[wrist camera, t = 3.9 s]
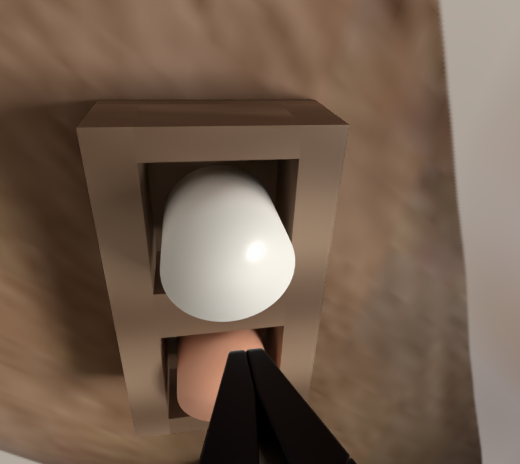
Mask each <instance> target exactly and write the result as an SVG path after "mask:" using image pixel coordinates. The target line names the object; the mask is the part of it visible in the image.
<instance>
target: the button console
mask: <svg viewBox="0 0 520 464" xmlns="http://www.w3.org/2000/svg"><path fill="white" fill-rule="evenodd" d="M348 130H349V124H347V123H346V122H345V121H343V120H342V119H341V118H339V117H338V116H337V115H335V114H334V113H332V112H331V111H330V110H328V109H327V108H326V107H324V106H323V105H321V104H320V103H319V102H317V101H316V100H97V101H96V103H95V104H94V105H93V107H92V108H91V109H90V110H89V112H88V113H87V114H86V115H85V117H84V118H83V119H82V121H81V122H80V123H79V124H78V126H77V127H76V131H77V136H78V141H79V146H80V151H81V156H82V162H83V167H84V172H85V177H86V182H87V187H88V192H89V197H90V203H91V208H92V213H93V218H94V223H95V228H96V233H97V238H98V244H99V249H100V254H101V259H102V264H103V269H104V274H105V280H106V285H107V290H108V295H109V300H110V305H111V310H112V315H113V321H114V326H115V331H116V336H117V341H118V346H119V351H120V356H121V362H122V367H123V372H124V377H125V382H126V387H127V392H128V397H129V403H130V408H131V413H132V418H133V423H134V428H135V433H136V439H137V438H144V437H151V436H159V435H166V434H173V433H180V432H187V431H194V430H201V429H208V426H209V423H210V422H208V421H203V420H199V419H196V418H193V417H192V416H190V415H188V414H187V413H185V412H184V411H183V410H182V408H181V407H180V405H179V403H178V400H177V336H186V335H196V334H206V333H216V332H226V331H236V330H246V329H256V328H259V330H260V334H261V338H262V342H263V346H264V350H265V352H266V353H267V354H268V355H269V357H270V358H271V359H272V360H273V362H274V363H275V364H276V365H277V367H278V368H279V369H280V370H281V371H282V373H283V374H284V375H285V376H286V378H287V379H288V380H289V381H290V383H291V384H292V385H293V386H294V387H295V389H296V390H297V391H298V392H299V394H300V395H301V396H302V397H303V399H304V400H305V401H306V402H308V395H309V389H310V382H311V376H312V369H313V362H314V356H315V349H316V342H317V336H318V329H319V322H320V316H321V309H322V302H323V296H324V289H325V283H326V276H327V269H328V263H329V256H330V249H331V243H332V236H333V229H334V223H335V216H336V210H337V203H338V196H339V190H340V183H341V176H342V170H343V163H344V156H345V150H346V143H347V136H348ZM212 165H228V166H233V167H237V168H240V169H243V170H245V171H247V172H249V173H250V174H252V175H253V176H255V177H256V178H257V179H258V180H259V181H260V182H261V183H262V184H263V186H264V187H265V189H266V190H267V192H268V194H269V196H270V199H271V201H272V203H273V205H274V207H275V209H276V211H277V214H278V216H279V218H280V220H281V222H282V224H283V226H284V228H285V231H286V233H287V235H288V237H289V239H290V241H291V243H292V246H293V249H294V254H295V269H294V274H293V277H292V280H291V282H290V284H289V286H288V287H287V289H286V290H285V292H284V293H283V294H282V296H281V297H280V298H279V299H278V300H277V301H276V302H275V303H274V304H272V305H271V306H270V307H268V308H267V309H265V310H263V311H262V312H260V313H258V314H256V315H254V316H251V317H248V318H245V319H241V320H236V321H229V322H215V321H207V320H203V319H199V318H196V317H194V316H191V315H189V314H187V313H185V312H184V311H182V310H181V309H180V308H178V307H177V306H176V305H175V304H174V303H173V302H172V301H171V300H170V299H169V297H168V296H167V294H166V292H165V291H164V288H163V286H162V283H161V278H160V260H161V244H162V228H163V213H164V206H165V202H166V199H167V197H168V195H169V193H170V191H171V190H172V188H173V187H174V186H175V185H176V183H177V182H178V181H179V180H181V179H182V178H183V177H184V176H186V175H187V174H189V173H191V172H193V171H195V170H197V169H200V168H203V167H207V166H212Z"/></svg>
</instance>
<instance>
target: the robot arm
mask: <svg viewBox="0 0 520 464" xmlns="http://www.w3.org/2000/svg"><path fill="white" fill-rule="evenodd" d="M349 458H350V455H349V454H348V453H347V451H346V450H345V449H344V448H343V447H342V445H341V444H340V443H339V442H338V440H337V439H336V438H335V437H334V435H333V434H332V433H331V432H330V431H329V429H328V428H327V427H326V426H325V424H324V423H323V422H322V421H321V419H320V418H319V417H318V416H317V415H316V413H315V412H314V411H313V410H312V408H311V407H310V406H309V405H308V403H307V402H306V401H305V400H304V399H303V397H302V396H301V395H300V394H299V392H298V391H297V390H296V389H295V387H294V386H293V385H292V384H291V383H290V381H289V380H288V379H287V378H286V376H285V375H284V374H283V373H282V371H281V370H280V369H279V368H278V367H277V365H276V364H275V363H274V362H273V360H272V359H271V358H270V357H269V355H268V354H267V353H266V352H265V351H264V350H263V349H262V348H254V349H248V350H247V351H245V350H236V351H230V352H229V354H228V357H227V361H226V364H225V368H224V372H223V375H222V379H221V383H220V386H219V390H218V394H217V397H216V401H215V405H214V408H213V412H212V415H211V419H210V423H209V426H208V430H207V434H206V437H205V441H204V445H203V448H202V452H201V455H200V459H199V463H198V464H356V462H355V461H354V460H353V459H352V458H350V459H349Z"/></svg>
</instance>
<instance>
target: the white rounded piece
mask: <svg viewBox="0 0 520 464" xmlns="http://www.w3.org/2000/svg"><path fill="white" fill-rule="evenodd" d="M294 269H295V254H294V249H293V246H292V243H291V241H290V239H289V237H288V235H287V233H286V231H285V228H284V226H283V224H282V222H281V220H280V218H279V216H278V214H277V211H276V209H275V207H274V205H273V203H272V201H271V199H270V196H269V194H268V192H267V190H266V189H265V187H264V186H263V184H262V183H261V182H260V181H259V180H258V179H257V178H256V177H255V176H253V175H252V174H250V173H249V172H247V171H245V170H243V169H240V168H237V167H233V166H228V165H212V166H207V167H203V168H200V169H197V170H195V171H193V172H191V173H189V174H187V175H186V176H184V177H183V178H182V179H181V180H179V181H178V182H177V183H176V185H175V186H174V187H173V188H172V190H171V191H170V193H169V195H168V197H167V199H166V202H165V206H164V213H163V228H162V244H161V260H160V278H161V283H162V286H163V288H164V291H165V292H166V294H167V296H168V297H169V299H170V300H171V301H172V302H173V303H174V304H175V305H176V306H177V307H178V308H180V309H181V310H182V311H184V312H185V313H187V314H189V315H191V316H194V317H196V318H199V319H203V320H207V321H215V322H229V321H236V320H241V319H245V318H248V317H251V316H254V315H256V314H258V313H260V312H262V311H263V310H265V309H267V308H268V307H270V306H271V305H272V304H274V303H275V302H276V301H277V300H278V299H279V298H280V297H281V296H282V294H283V293H284V292H285V290H286V289H287V287H288V286H289V284H290V282H291V280H292V277H293V274H294Z"/></svg>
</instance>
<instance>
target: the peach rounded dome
mask: <svg viewBox="0 0 520 464" xmlns="http://www.w3.org/2000/svg"><path fill="white" fill-rule="evenodd" d="M254 348H262V349H263V350H264V346H263V342H262V338H261V334H260V330H259V328H256V329H246V330H236V331H226V332H216V333H206V334H196V335H186V336H177V400H178V403H179V405H180V407H181V408H182V410H183V411H184V412H185V413H187V414H188V415H190V416H192V417H193V418H196V419H199V420H203V421H208V422H210V419H211V415H212V412H213V408H214V405H215V401H216V397H217V394H218V390H219V386H220V383H221V379H222V375H223V372H224V368H225V364H226V361H227V357H228V354H229V352H230V351H236V350H245V351H247V350H248V349H254ZM264 351H265V350H264Z"/></svg>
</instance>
